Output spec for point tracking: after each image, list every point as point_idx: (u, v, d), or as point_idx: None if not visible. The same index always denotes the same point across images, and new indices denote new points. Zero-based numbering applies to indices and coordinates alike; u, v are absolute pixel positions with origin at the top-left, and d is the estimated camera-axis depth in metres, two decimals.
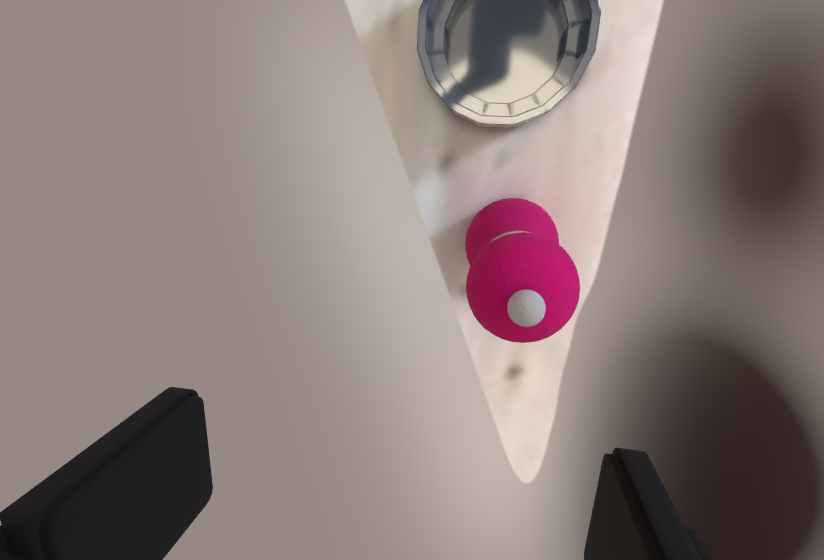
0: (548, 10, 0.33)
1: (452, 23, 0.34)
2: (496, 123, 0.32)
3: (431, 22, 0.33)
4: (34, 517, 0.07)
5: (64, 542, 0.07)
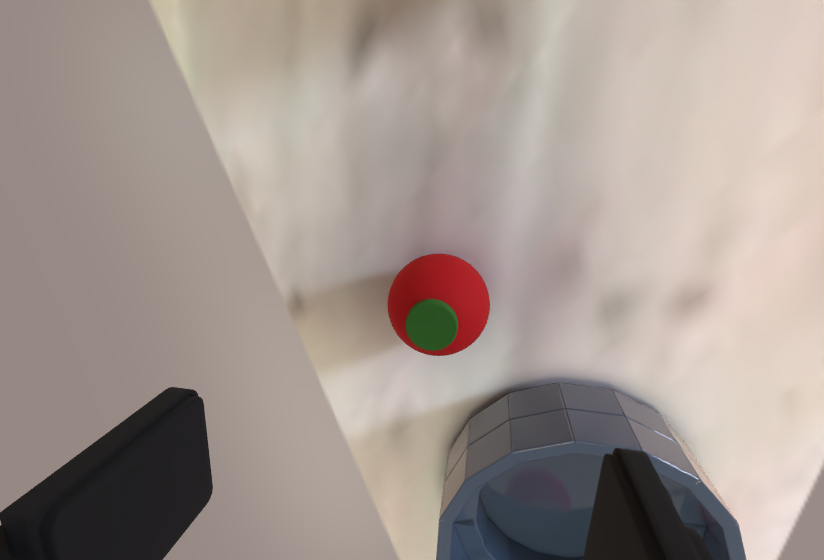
0: None
1: None
2: None
3: None
4: (34, 517, 0.07)
5: (64, 542, 0.07)
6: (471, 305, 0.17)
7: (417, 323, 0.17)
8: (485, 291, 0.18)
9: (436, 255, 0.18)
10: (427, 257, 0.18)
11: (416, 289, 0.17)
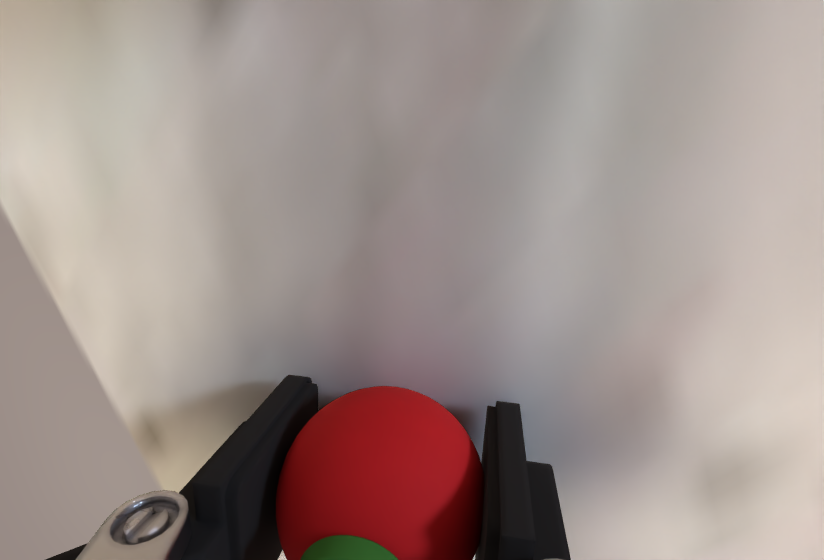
0: None
1: None
2: None
3: None
4: (222, 486, 0.07)
5: (242, 509, 0.08)
6: (444, 538, 0.08)
7: None
8: (477, 483, 0.08)
9: (374, 401, 0.09)
10: (355, 407, 0.09)
11: (319, 501, 0.08)
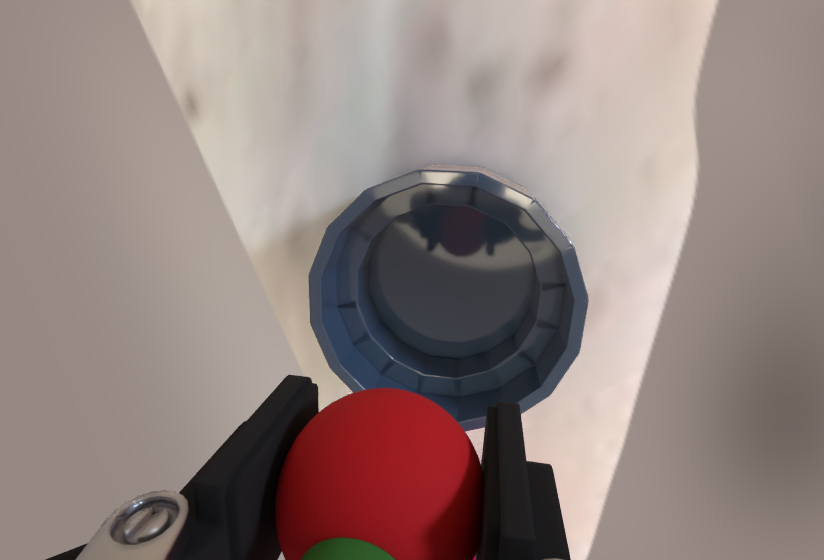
0: (512, 243, 0.22)
1: (374, 250, 0.24)
2: None
3: (337, 267, 0.22)
4: (222, 486, 0.07)
5: (242, 509, 0.08)
6: (443, 540, 0.08)
7: None
8: (477, 485, 0.08)
9: (374, 403, 0.09)
10: (354, 409, 0.09)
11: (319, 504, 0.08)
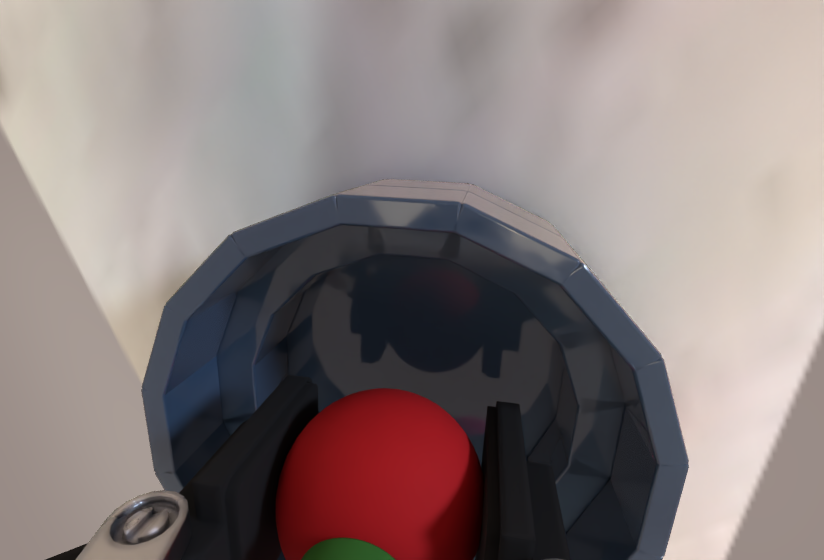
0: (525, 315, 0.13)
1: (295, 319, 0.14)
2: None
3: (217, 359, 0.12)
4: (222, 486, 0.07)
5: (242, 509, 0.08)
6: (443, 540, 0.08)
7: None
8: (477, 485, 0.08)
9: (374, 403, 0.09)
10: (355, 409, 0.09)
11: (319, 504, 0.08)
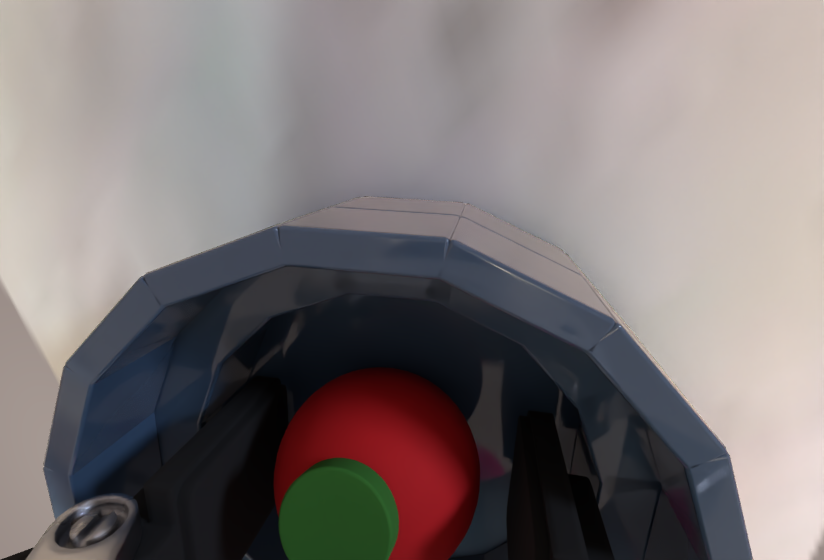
0: (532, 361, 0.11)
1: (257, 361, 0.12)
2: None
3: (155, 416, 0.10)
4: (174, 488, 0.07)
5: (196, 512, 0.08)
6: (433, 480, 0.08)
7: (304, 516, 0.07)
8: (470, 449, 0.09)
9: (379, 368, 0.10)
10: (361, 371, 0.10)
11: (320, 433, 0.08)
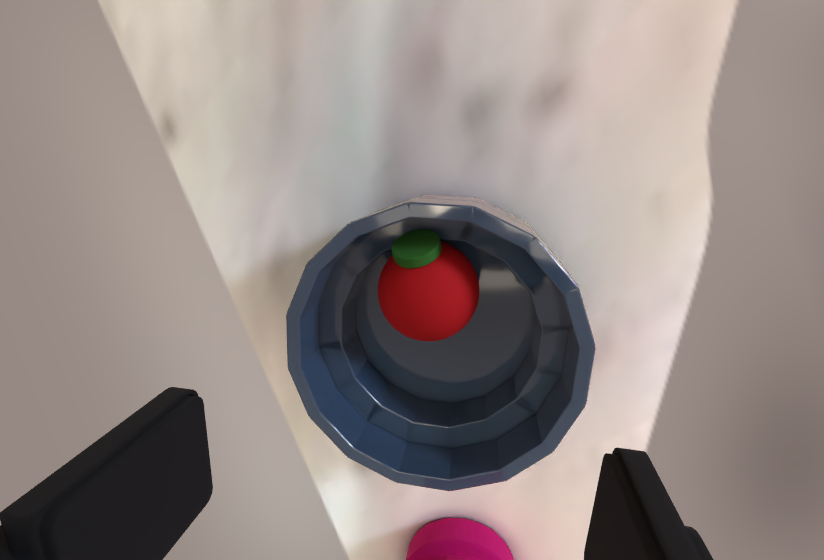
0: (511, 280, 0.21)
1: (362, 284, 0.22)
2: (422, 485, 0.19)
3: (319, 305, 0.20)
4: (34, 517, 0.07)
5: (64, 542, 0.07)
6: (457, 252, 0.18)
7: (403, 242, 0.18)
8: (474, 269, 0.19)
9: None
10: None
11: None
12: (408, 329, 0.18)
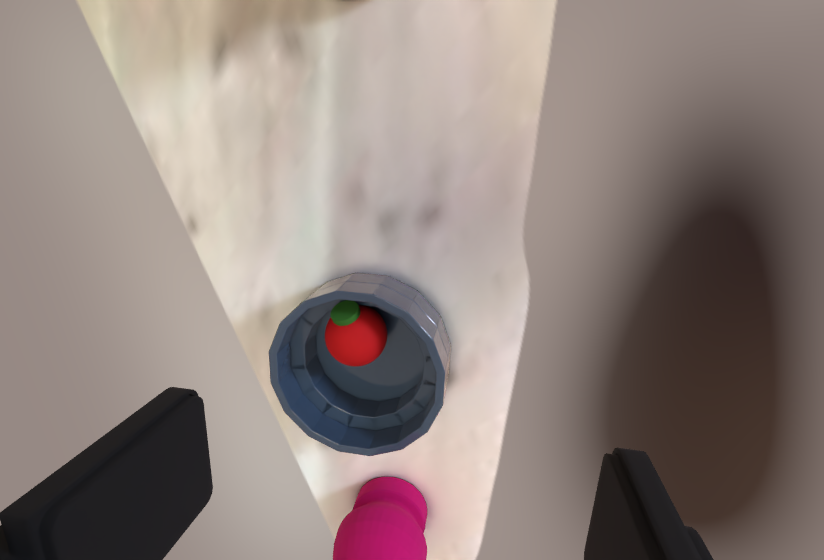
0: None
1: (319, 326, 0.34)
2: (353, 452, 0.31)
3: (290, 342, 0.32)
4: (34, 517, 0.07)
5: (64, 542, 0.07)
6: (371, 313, 0.30)
7: (338, 308, 0.30)
8: (383, 322, 0.31)
9: None
10: None
11: None
12: (341, 360, 0.30)
